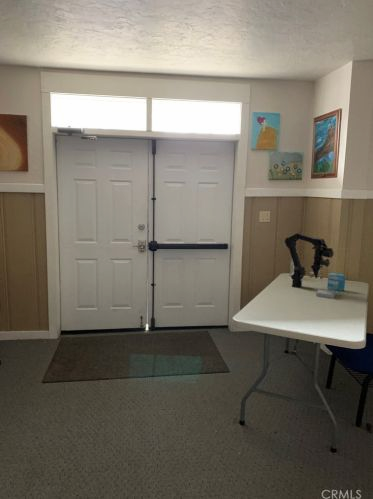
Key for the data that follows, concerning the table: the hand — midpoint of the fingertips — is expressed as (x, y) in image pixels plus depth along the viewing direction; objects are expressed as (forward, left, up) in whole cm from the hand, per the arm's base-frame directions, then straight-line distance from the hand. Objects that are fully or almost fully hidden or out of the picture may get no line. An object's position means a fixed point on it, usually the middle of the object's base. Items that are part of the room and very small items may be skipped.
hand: (316, 276), depth 294 cm
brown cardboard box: (0, 0, -1) cm, 1 cm away
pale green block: (0, 0, +2) cm, 2 cm away
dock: (+9, -9, -12) cm, 17 cm away
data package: (+13, +13, -12) cm, 22 cm away
